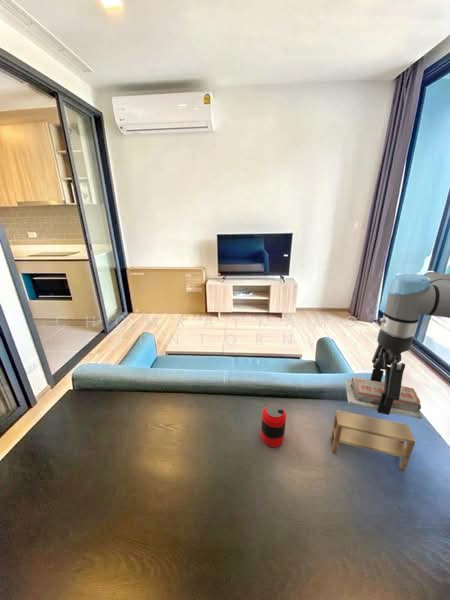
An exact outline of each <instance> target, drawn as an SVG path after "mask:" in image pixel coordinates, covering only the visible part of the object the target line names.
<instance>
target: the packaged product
mask: <svg viewBox="0 0 450 600" xmlns="http://www.w3.org/2000/svg"><path fill="white" fill-rule="evenodd" d="M344 385H345V391H346V398H347V402H348V405H354V406H360V407H366V408H368V409H372V410H376V411H377V410H378V406H379V402H380V399H381V392H384V386H385V382H382V381H381V382H377V381H372V380H370V379H367V378H361V377H355V376H354V377H352V378H351V379H347V378H346V379H345V384H344ZM421 409H422V405H421V400H420V397H418V393H417V392H416V390H415V388H414V387H408V386H404V385H401V390H400V397H399V400H393V403H392V407H391V410H390V413H389V415H390V414H391V415H401V416H406V417H411V418H415V419H418V420H423V418H424V416H423V415H422V413H421Z"/></svg>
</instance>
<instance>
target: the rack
mask: <svg viewBox="0 0 450 600" xmlns="http://www.w3.org/2000/svg"><path fill="white" fill-rule="evenodd" d="M330 441H331V442H333V443H332V448H331V453H332V454H335V455H337V453H338V447H339V444H344V445H348V446H352V447H357V448H361V449H365V450H368V451H374V452H378V453H382V454H386V455H390V456H395V457H398V458H401V460H400V462H399V465H398V468H399V470H400V471H402V472H406V469H407V466H408V464H409V461H410V458H411V456H412V452H413V450H414V447H415V444H416V439H415V437H414V435H413V433H412V430H411V429H410V426H409V424H406V423H401V422H397V421H392V420H386V419H382V418H377V417H373V416H368V415H363V414H357V413H354V412H348V411H343V410H340V409H339V410H338V409H336V410H335V414H334V419H333V424H332V429H331V434H330ZM405 443H406V444H405Z"/></svg>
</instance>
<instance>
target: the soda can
mask: <svg viewBox="0 0 450 600" xmlns="http://www.w3.org/2000/svg"><path fill="white" fill-rule="evenodd" d="M286 423H287V413H286V411H285V409H284V408H283V407H282V406H281V405H279V404H277V403H269V404H267V405H266V406H264V407H263V409H262V415H261V431H260V439H261V441H262V442H263V443H264V444H265V445H266V446H268V447H272V448H277V447H280V446H281V445H282V444H283V443H284V439H285V438H284V437H285V431H286Z"/></svg>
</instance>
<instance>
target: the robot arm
mask: <svg viewBox="0 0 450 600" xmlns="http://www.w3.org/2000/svg"><path fill="white" fill-rule="evenodd" d="M421 315H423V316H424V315H425V316H431V317H432V316H433V317H441V318H449V319H450V273H440V272H438V271H433V270H426V271H422V272H420V273H411V272H402V273H397V274H395V275H394V276H393V278H392V280H391V282H390V286H389V288H388V294H387V298H386V304H385V308H384V312H383V315H382V318H380V319H379V323H381V324H380V329H379V331H378V335H377V339H376V341H377V346H376V350H375V352H374V354H373V357H372V360H371V363H372V372H371V376H370V379H369V380H372V381H377V382H382V380H383V376H384V383H385V386H384V392H381V399H380V402H379V406H378V410H376V411H377V413H379V414H383V415H388V416H390V410H391V407H392V403H393V400H399V397H400V390H401V386H402V384H403V383H402V382H403V377H404V376H403V375H404V371H405V369H406V363H405V362H401V361H402V353H405V352H408V351H410V350H411V347H412V345H413V344H412V343H413V340H414V336H415V335H416V332H417V328H418V325H419V323H420V322H419V321H420V317H421Z"/></svg>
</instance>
